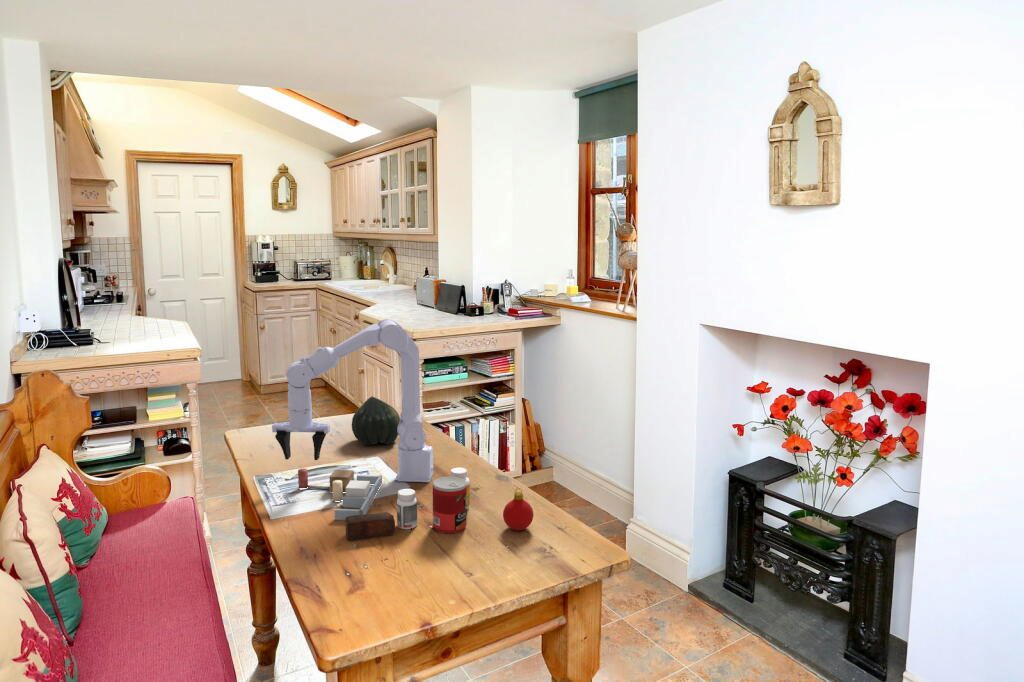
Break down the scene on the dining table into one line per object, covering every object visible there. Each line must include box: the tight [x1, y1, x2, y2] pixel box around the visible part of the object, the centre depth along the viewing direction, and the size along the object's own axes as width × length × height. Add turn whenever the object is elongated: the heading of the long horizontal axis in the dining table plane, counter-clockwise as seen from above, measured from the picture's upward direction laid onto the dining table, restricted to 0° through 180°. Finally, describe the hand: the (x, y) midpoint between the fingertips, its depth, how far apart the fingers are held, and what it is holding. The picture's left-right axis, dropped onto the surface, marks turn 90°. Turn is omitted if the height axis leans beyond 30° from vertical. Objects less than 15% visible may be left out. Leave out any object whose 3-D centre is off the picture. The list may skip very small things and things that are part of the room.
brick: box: [344, 511, 396, 542], centre depth 163 cm, size 11×4×5 cm, turn 111°
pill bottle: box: [396, 488, 418, 530], centre depth 167 cm, size 5×5×8 cm
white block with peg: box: [332, 479, 371, 502], centre depth 181 cm, size 9×5×5 cm, turn 88°
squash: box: [351, 396, 400, 446], centre depth 225 cm, size 14×15×15 cm
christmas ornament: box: [502, 487, 534, 531], centre depth 166 cm, size 7×7×10 cm
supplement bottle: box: [450, 467, 471, 510], centre depth 178 cm, size 5×5×10 cm
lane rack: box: [334, 474, 383, 521], centre depth 181 cm, size 7×22×2 cm, turn 178°
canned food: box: [432, 476, 468, 534], centre depth 167 cm, size 8×8×11 cm
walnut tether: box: [297, 468, 355, 493], centre depth 188 cm, size 14×5×5 cm, turn 88°
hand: (302, 458), depth 187 cm, fingers open, 7 cm apart
